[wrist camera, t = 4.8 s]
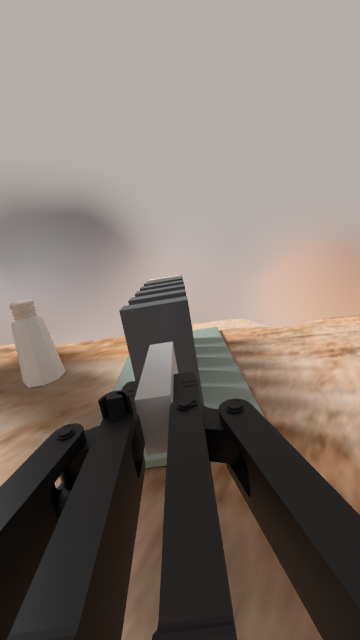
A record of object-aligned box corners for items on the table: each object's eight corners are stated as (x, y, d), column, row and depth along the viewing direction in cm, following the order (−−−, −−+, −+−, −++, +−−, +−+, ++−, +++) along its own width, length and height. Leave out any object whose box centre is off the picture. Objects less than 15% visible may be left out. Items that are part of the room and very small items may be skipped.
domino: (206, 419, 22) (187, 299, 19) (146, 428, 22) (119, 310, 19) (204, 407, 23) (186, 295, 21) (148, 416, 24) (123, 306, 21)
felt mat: (278, 448, 18) (278, 441, 18) (79, 478, 19) (77, 471, 19) (217, 330, 45) (216, 326, 45) (136, 343, 46) (135, 339, 46)
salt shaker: (26, 377, 39) (1, 303, 36) (66, 365, 41) (45, 295, 38) (20, 393, 34) (-9, 309, 31) (65, 379, 36) (41, 299, 33)
